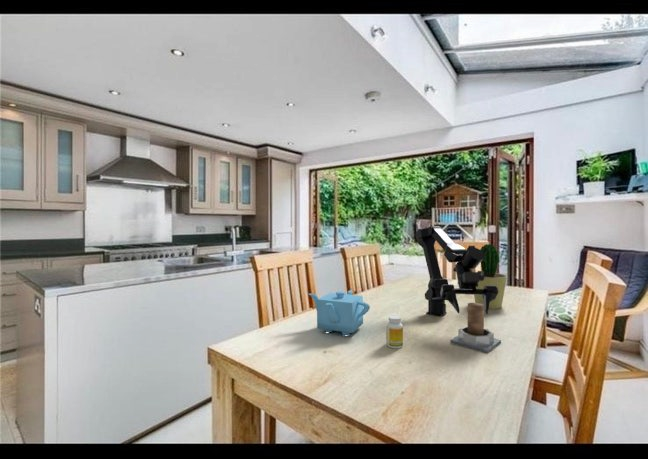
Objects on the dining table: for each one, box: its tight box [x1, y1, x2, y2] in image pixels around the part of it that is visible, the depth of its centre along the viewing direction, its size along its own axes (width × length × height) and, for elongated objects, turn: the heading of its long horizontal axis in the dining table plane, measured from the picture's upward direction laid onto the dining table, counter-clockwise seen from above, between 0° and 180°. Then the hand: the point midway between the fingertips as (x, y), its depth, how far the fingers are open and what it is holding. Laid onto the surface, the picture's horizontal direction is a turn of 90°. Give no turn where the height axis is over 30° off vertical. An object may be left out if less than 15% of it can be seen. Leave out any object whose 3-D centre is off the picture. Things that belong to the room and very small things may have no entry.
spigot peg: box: [467, 302, 485, 335], centre depth 113 cm, size 5×5×12 cm
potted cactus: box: [473, 243, 508, 310], centre depth 160 cm, size 15×15×30 cm
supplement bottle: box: [385, 315, 404, 349], centre depth 111 cm, size 5×5×10 cm
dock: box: [449, 325, 502, 354], centre depth 113 cm, size 12×12×4 cm
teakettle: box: [308, 289, 371, 335], centre depth 127 cm, size 19×19×15 cm
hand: (472, 313), depth 116 cm, fingers open, 9 cm apart
